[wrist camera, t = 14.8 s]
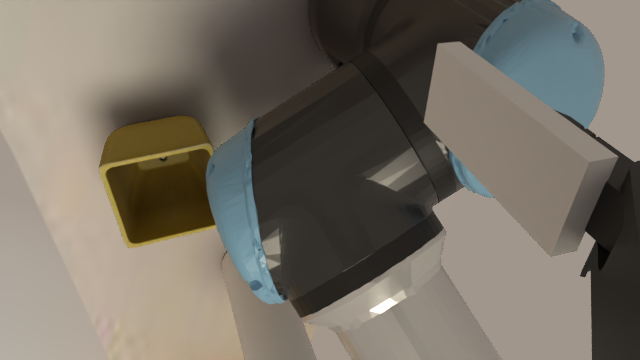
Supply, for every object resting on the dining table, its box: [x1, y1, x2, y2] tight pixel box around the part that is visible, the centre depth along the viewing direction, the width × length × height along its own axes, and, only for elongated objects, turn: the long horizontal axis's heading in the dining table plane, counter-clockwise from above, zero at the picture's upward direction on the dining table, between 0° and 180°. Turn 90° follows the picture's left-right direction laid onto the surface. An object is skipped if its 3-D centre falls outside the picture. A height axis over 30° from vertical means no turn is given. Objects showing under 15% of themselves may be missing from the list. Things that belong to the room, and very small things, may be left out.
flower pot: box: [99, 116, 217, 248], centre depth 47 cm, size 9×9×9 cm
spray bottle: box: [222, 252, 317, 360], centre depth 54 cm, size 7×7×25 cm
